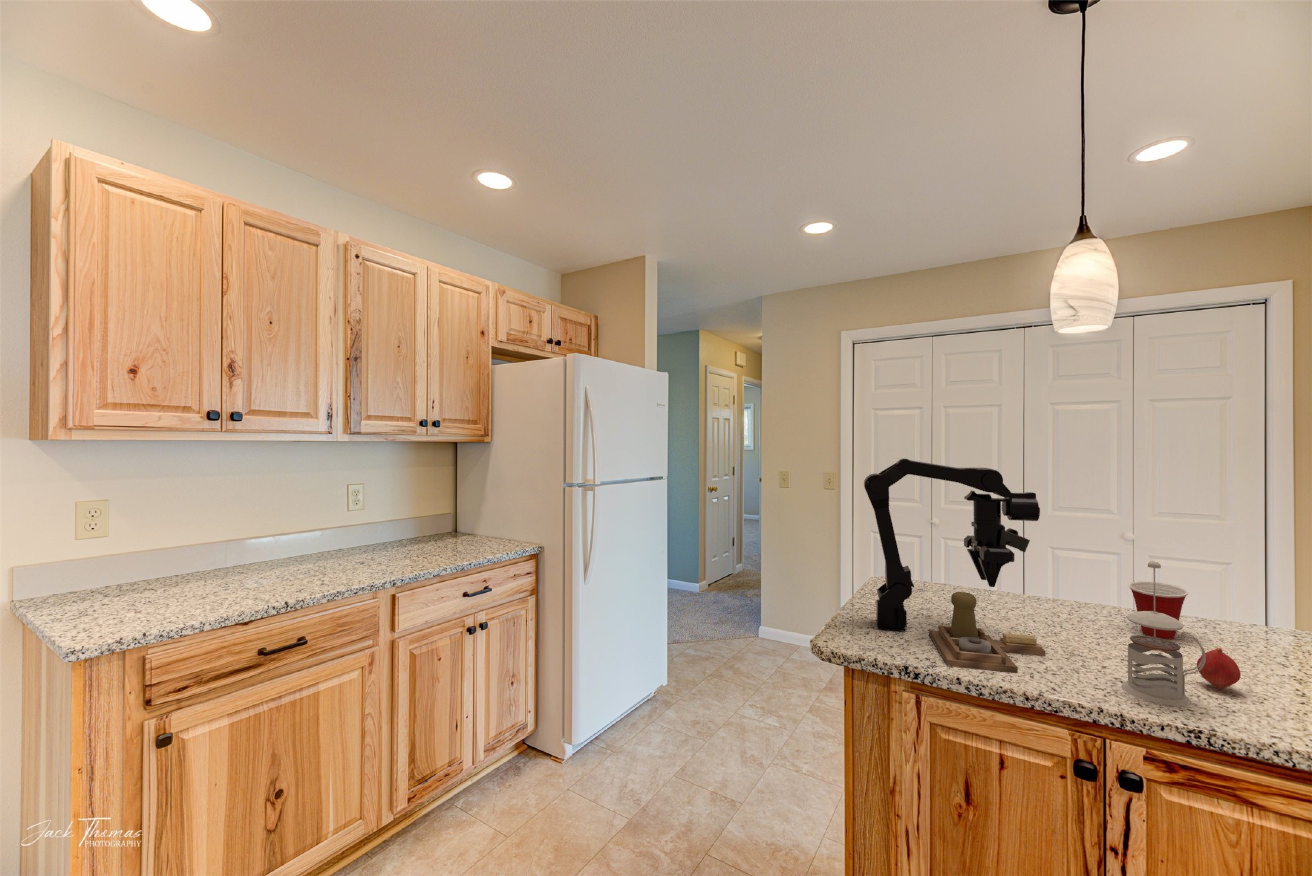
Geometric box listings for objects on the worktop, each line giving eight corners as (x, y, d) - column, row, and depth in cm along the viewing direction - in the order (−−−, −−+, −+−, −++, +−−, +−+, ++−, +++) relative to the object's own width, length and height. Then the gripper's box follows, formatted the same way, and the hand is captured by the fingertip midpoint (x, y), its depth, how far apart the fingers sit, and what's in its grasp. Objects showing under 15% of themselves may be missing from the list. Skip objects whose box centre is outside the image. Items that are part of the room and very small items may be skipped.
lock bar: (1006, 645, 123) (1006, 636, 123) (1002, 641, 125) (1002, 633, 125) (1036, 647, 121) (1036, 639, 121) (1032, 644, 123) (1032, 635, 123)
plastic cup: (1125, 635, 132) (1124, 586, 132) (1132, 624, 140) (1131, 578, 140) (1186, 647, 124) (1186, 595, 124) (1191, 636, 131) (1190, 586, 132)
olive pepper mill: (984, 645, 123) (983, 596, 123) (956, 644, 124) (955, 596, 124) (971, 635, 129) (971, 589, 129) (944, 634, 130) (944, 589, 130)
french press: (1120, 677, 109) (1119, 553, 109) (1201, 694, 102) (1200, 561, 102) (1121, 694, 101) (1120, 562, 102) (1209, 714, 94) (1208, 571, 94)
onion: (1188, 682, 107) (1188, 641, 107) (1215, 681, 107) (1214, 640, 107) (1221, 696, 101) (1221, 653, 101) (1249, 694, 101) (1249, 652, 101)
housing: (947, 665, 115) (947, 644, 115) (929, 634, 133) (929, 616, 133) (1068, 677, 109) (1068, 656, 109) (1032, 643, 127) (1032, 625, 127)
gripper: (1040, 526, 120) (1041, 596, 120) (1011, 515, 138) (1012, 576, 138) (984, 524, 124) (984, 592, 124) (963, 513, 142) (963, 573, 141)
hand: (987, 583), depth 132 cm, fingers open, 6 cm apart
